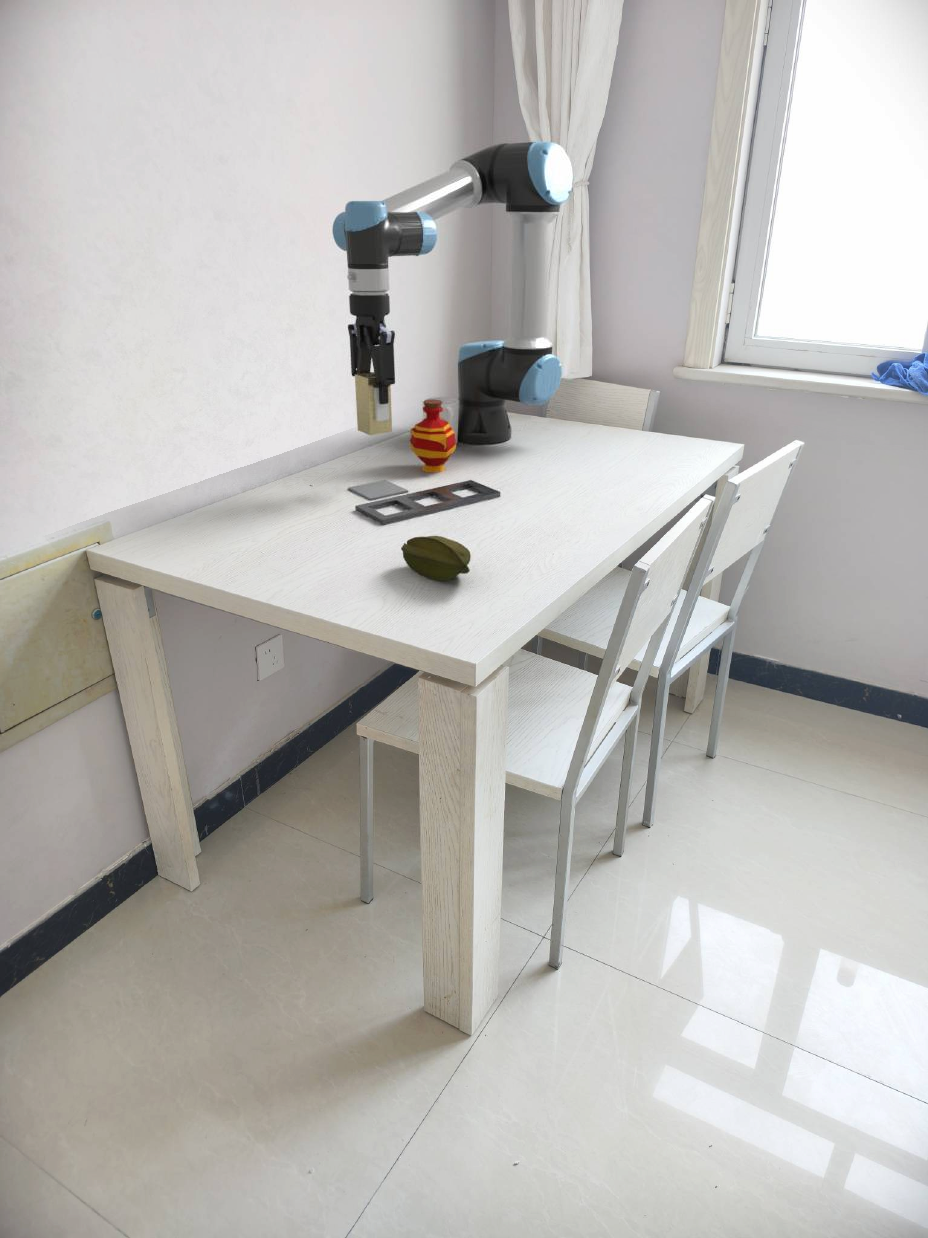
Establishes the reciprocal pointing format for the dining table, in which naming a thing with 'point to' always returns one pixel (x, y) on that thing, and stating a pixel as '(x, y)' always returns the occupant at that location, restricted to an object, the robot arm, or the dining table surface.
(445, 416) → the mug
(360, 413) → the brass block with knob
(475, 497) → the grey triple frame
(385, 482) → the pad
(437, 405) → the potion bottle
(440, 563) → the fruit
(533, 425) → the dining table surface
